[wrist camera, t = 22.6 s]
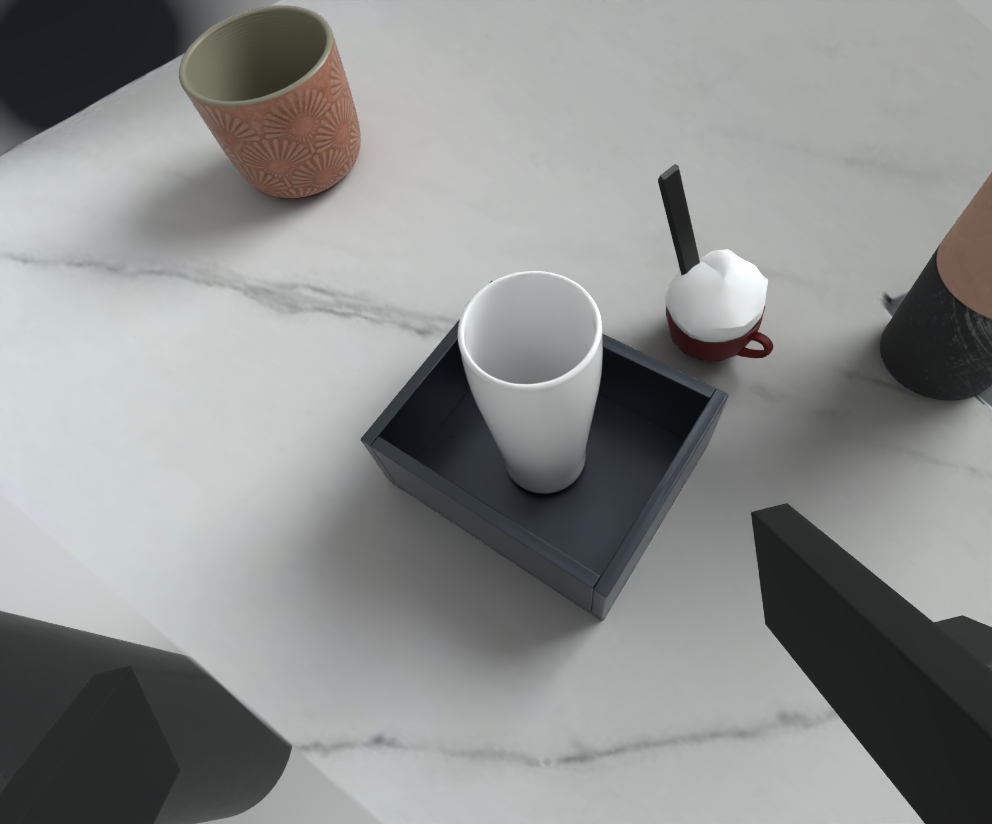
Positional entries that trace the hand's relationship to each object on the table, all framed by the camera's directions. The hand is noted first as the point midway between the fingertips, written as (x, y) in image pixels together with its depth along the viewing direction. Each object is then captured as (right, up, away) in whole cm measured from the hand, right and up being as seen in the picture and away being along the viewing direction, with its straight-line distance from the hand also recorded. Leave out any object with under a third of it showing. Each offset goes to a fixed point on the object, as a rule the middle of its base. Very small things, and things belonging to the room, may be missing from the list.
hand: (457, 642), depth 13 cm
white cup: (+4, +2, +29) cm, 29 cm away
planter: (-17, +28, +46) cm, 56 cm away
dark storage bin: (+4, +1, +29) cm, 30 cm away
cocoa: (+16, +10, +33) cm, 38 cm away
